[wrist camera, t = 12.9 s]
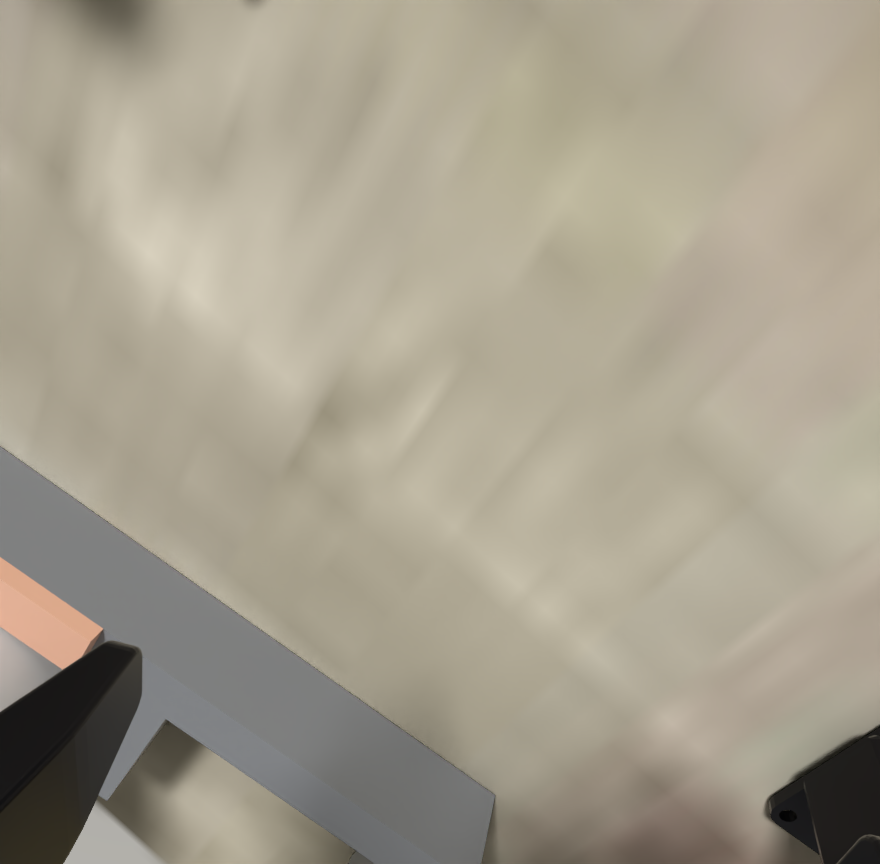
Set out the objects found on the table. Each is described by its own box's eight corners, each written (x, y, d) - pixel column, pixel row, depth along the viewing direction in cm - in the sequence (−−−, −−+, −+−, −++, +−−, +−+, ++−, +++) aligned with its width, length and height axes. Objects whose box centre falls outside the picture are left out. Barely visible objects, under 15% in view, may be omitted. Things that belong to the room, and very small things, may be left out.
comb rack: (495, 795, 27) (472, 906, 23) (390, 882, 30) (355, 992, 26) (-56, 407, 25) (-172, 459, 22) (-102, 543, 29) (-209, 608, 25)
